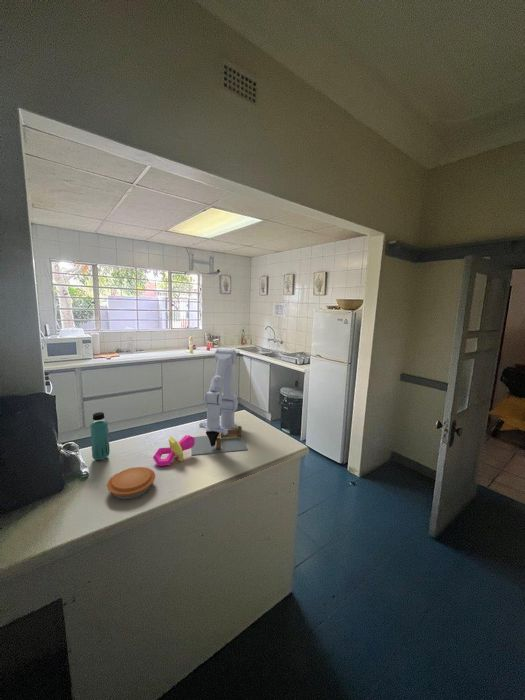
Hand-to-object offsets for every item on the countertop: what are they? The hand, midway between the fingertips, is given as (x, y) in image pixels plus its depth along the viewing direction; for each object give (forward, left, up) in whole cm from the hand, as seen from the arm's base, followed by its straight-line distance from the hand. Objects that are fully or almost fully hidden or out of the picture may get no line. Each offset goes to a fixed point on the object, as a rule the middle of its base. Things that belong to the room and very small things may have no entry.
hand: (213, 445), depth 128 cm
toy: (+5, -16, -2) cm, 17 cm away
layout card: (-4, +3, -2) cm, 6 cm away
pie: (+23, -30, -2) cm, 38 cm away
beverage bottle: (0, -46, -2) cm, 46 cm away
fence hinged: (-3, +2, -1) cm, 4 cm away
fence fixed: (-9, +8, -2) cm, 13 cm away
